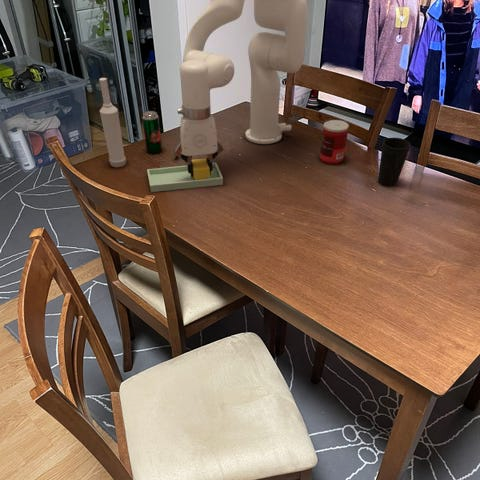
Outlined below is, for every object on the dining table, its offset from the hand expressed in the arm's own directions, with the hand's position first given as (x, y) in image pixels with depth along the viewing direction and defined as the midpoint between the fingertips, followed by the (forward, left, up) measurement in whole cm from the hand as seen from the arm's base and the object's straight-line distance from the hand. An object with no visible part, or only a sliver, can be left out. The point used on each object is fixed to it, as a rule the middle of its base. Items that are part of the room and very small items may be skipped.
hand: (200, 173), depth 143 cm
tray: (+5, 0, -2) cm, 5 cm away
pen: (+1, -22, -2) cm, 22 cm away
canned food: (-43, -4, -2) cm, 44 cm away
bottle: (+24, -15, -2) cm, 28 cm away
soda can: (+12, -22, -2) cm, 25 cm away
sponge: (0, 0, -1) cm, 1 cm away
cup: (-54, +14, -2) cm, 56 cm away
